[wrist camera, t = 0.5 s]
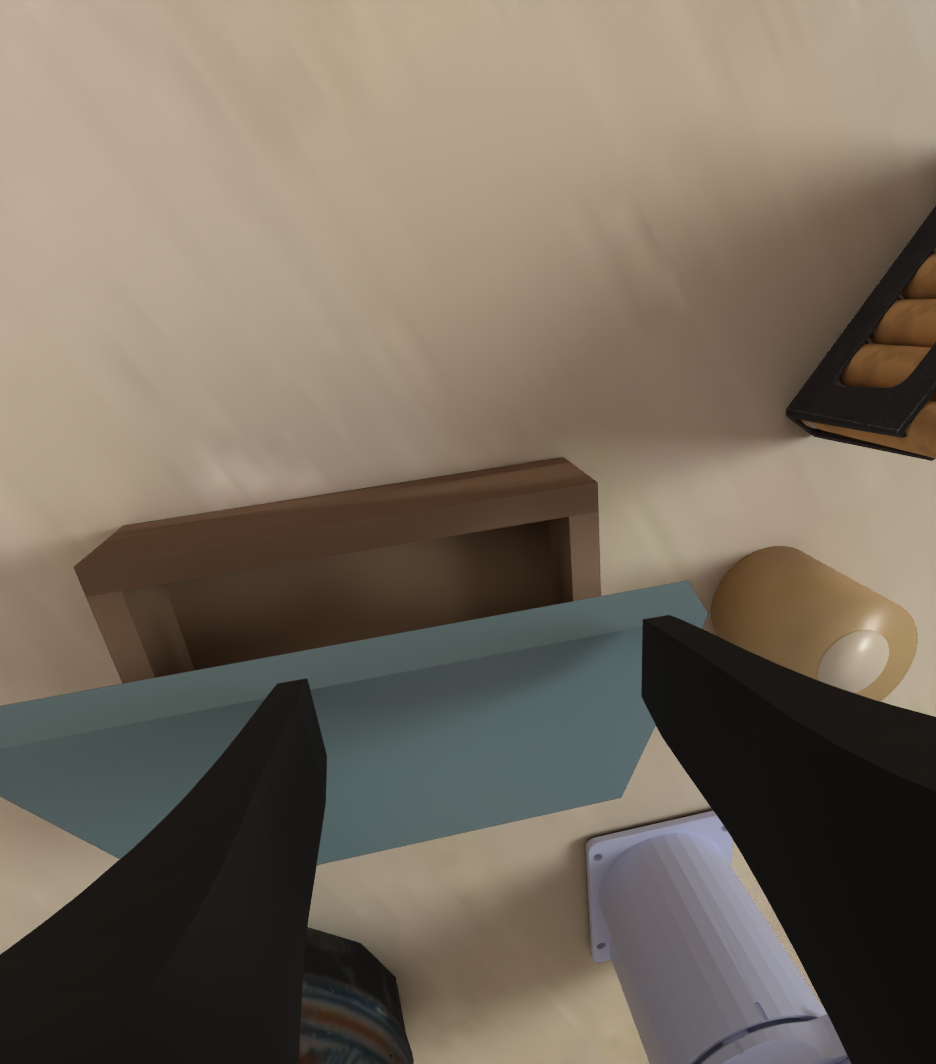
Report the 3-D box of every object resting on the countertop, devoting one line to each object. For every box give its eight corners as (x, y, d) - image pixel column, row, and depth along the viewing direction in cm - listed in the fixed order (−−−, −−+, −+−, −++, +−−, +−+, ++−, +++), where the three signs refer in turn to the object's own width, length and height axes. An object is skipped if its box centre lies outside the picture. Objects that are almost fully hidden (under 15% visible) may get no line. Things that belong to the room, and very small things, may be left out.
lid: (611, 772, 22) (621, 797, 22) (190, 863, 21) (186, 894, 20) (688, 580, 13) (708, 614, 13) (-46, 714, 12) (-68, 761, 11)
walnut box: (576, 710, 26) (605, 767, 22) (219, 783, 24) (195, 855, 21) (563, 457, 21) (597, 482, 18) (123, 525, 20) (73, 567, 16)
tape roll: (811, 637, 26) (905, 707, 22) (708, 658, 26) (781, 734, 21) (825, 537, 24) (931, 589, 20) (713, 557, 24) (795, 615, 19)
